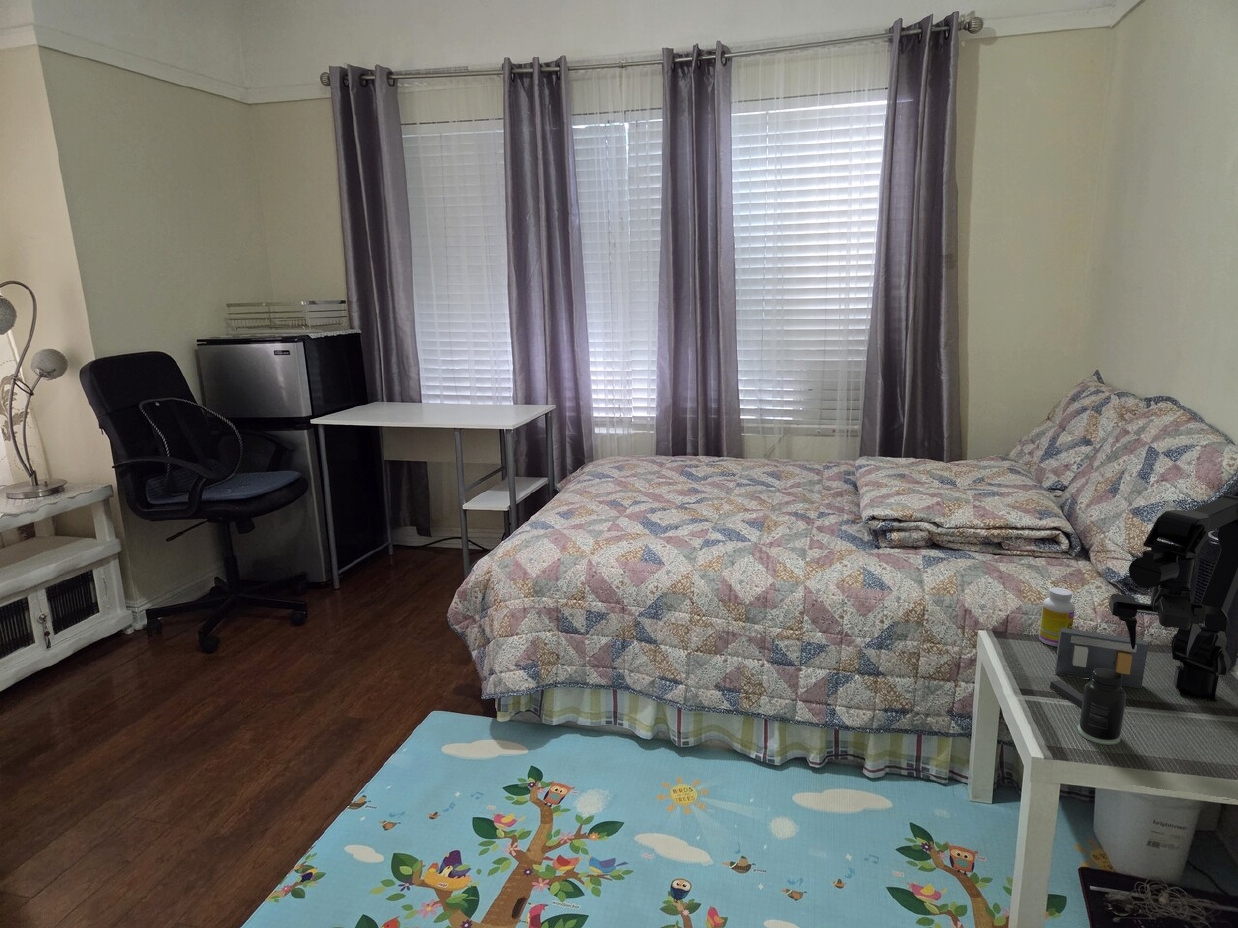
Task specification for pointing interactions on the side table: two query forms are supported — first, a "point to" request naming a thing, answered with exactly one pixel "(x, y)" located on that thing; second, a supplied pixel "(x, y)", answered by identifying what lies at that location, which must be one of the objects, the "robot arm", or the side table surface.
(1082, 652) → the paddle
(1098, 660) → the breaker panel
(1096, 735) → the supplement bottle
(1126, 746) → the side table surface
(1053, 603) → the supplement bottle
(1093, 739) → the pad
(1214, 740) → the side table surface
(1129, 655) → the paddle main
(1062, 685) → the dark grey slat
